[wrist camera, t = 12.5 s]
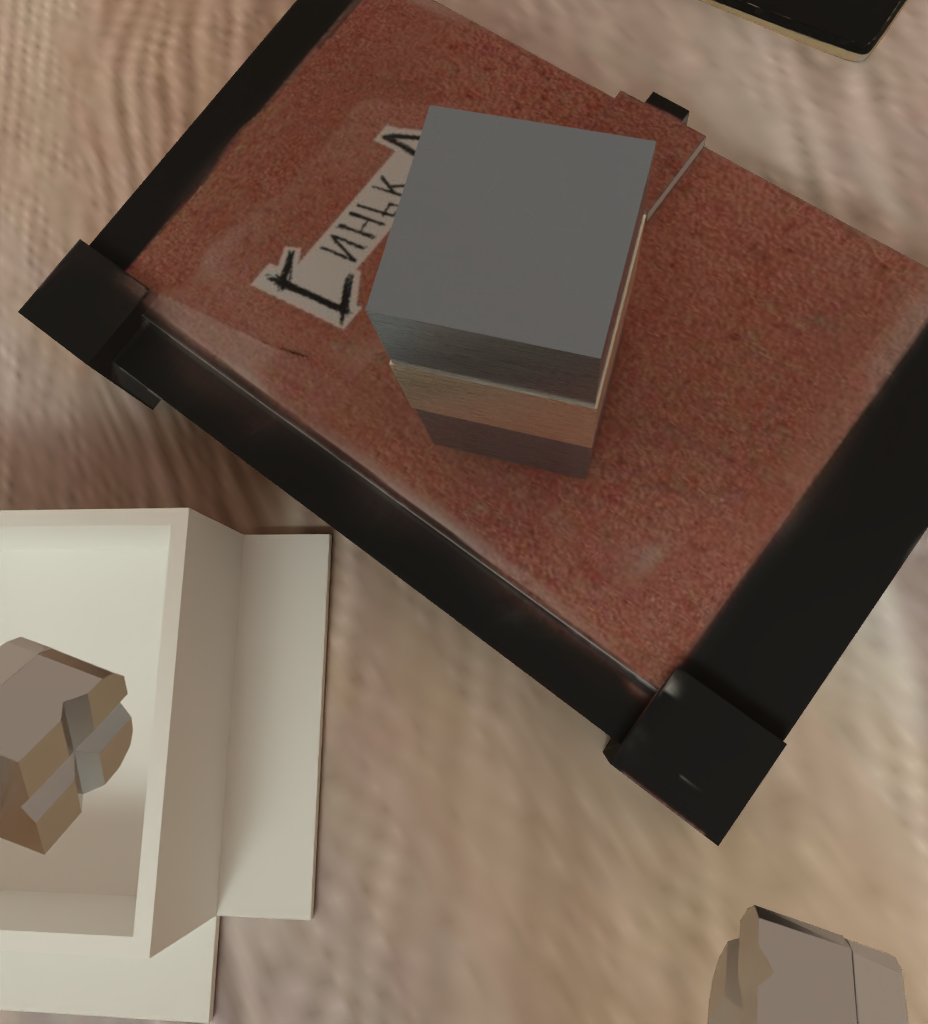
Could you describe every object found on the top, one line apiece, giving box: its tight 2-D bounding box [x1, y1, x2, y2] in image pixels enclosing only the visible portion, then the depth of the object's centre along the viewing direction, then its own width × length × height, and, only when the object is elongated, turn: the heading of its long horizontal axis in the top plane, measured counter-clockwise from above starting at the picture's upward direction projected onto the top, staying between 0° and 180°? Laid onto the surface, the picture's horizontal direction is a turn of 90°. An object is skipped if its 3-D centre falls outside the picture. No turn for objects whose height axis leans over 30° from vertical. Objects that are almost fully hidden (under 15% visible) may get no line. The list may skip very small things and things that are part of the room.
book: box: [18, 0, 928, 846], centre depth 27 cm, size 26×18×5 cm
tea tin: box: [365, 105, 656, 479], centre depth 19 cm, size 5×5×8 cm
